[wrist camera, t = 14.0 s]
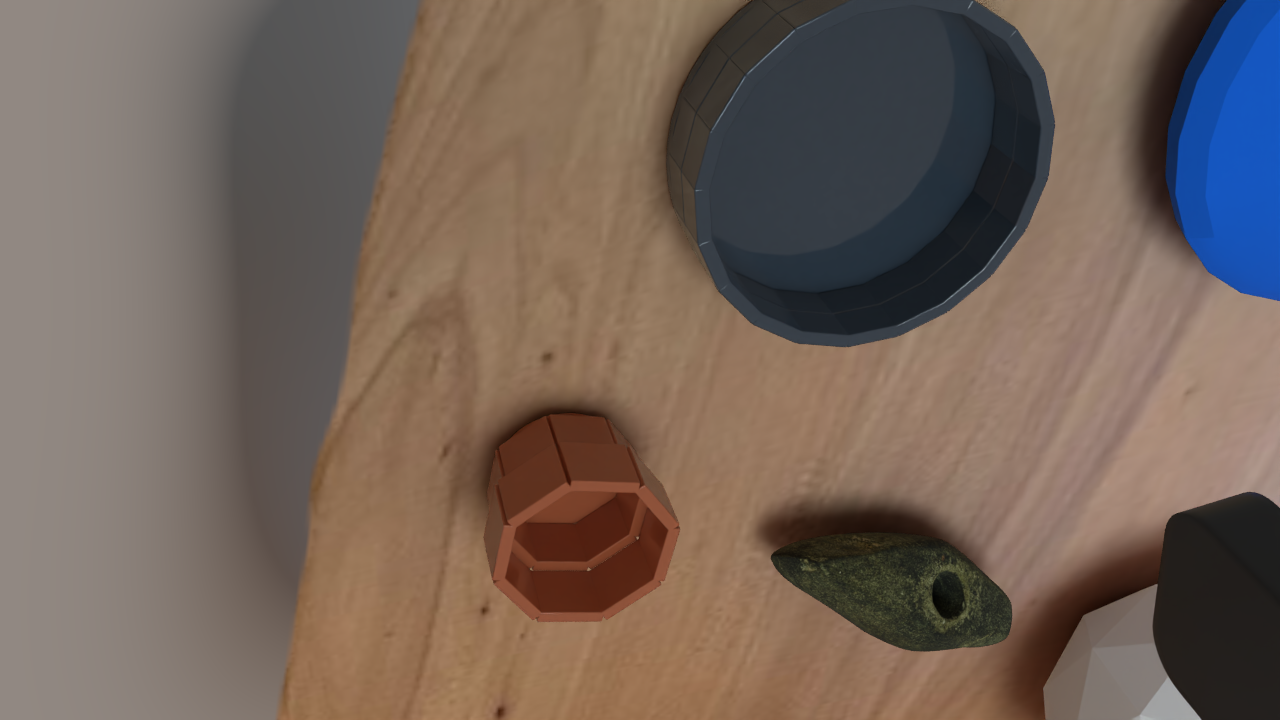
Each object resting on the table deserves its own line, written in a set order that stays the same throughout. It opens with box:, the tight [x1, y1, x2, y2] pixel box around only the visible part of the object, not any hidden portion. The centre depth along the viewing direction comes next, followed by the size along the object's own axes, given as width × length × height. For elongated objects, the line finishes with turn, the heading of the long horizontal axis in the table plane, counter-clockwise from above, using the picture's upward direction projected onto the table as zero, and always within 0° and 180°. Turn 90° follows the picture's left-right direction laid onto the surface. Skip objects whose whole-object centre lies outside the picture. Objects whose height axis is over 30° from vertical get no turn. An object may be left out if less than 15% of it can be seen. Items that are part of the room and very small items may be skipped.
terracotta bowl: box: [484, 413, 680, 622], centre depth 43 cm, size 6×6×5 cm
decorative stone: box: [771, 533, 1012, 651], centre depth 49 cm, size 11×8×5 cm
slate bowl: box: [666, 0, 1055, 347], centre depth 39 cm, size 12×12×4 cm
